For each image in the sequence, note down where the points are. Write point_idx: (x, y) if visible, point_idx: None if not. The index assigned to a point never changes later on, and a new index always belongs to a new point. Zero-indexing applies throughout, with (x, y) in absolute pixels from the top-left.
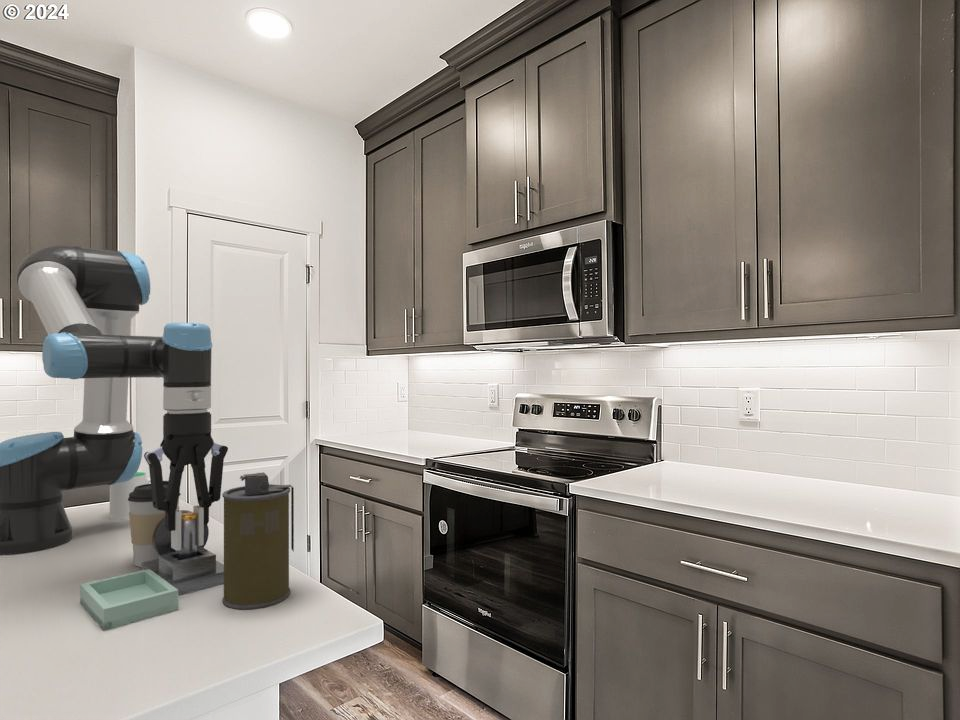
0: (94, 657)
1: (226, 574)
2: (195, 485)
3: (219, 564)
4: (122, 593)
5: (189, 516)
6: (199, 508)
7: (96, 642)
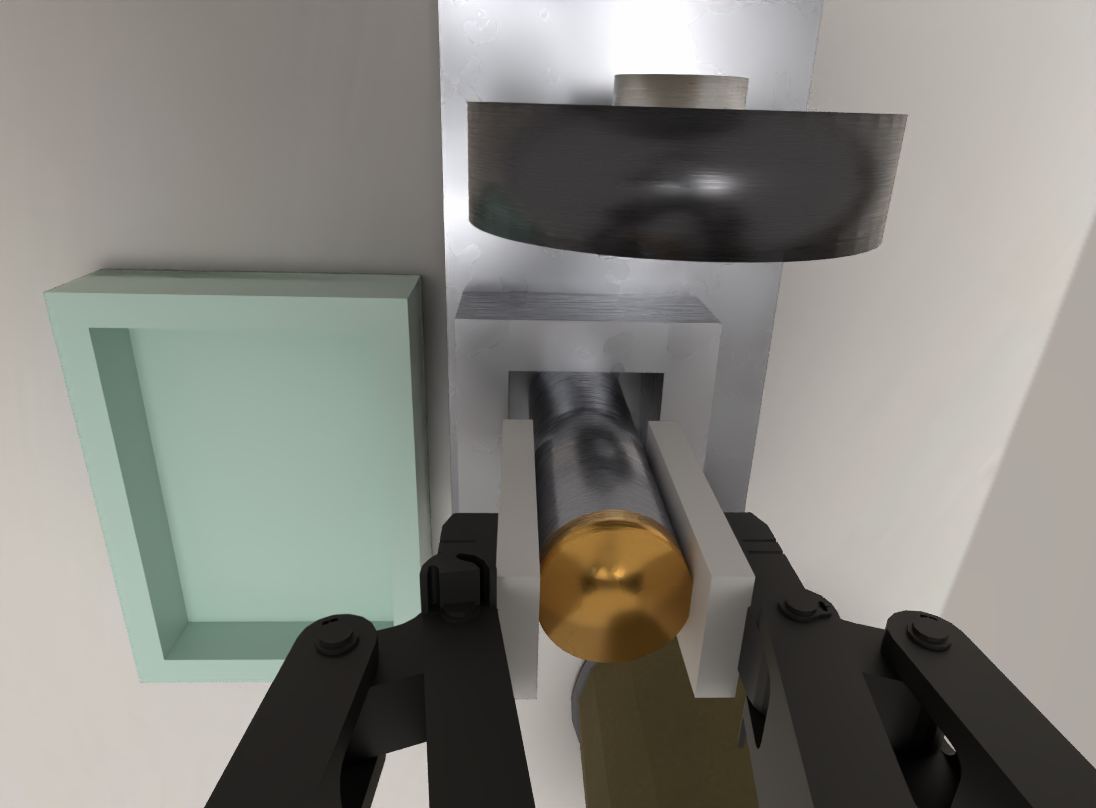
0: (141, 775)
1: (587, 801)
2: (803, 771)
3: (745, 404)
4: (268, 377)
5: (600, 660)
6: (698, 697)
7: (151, 692)
